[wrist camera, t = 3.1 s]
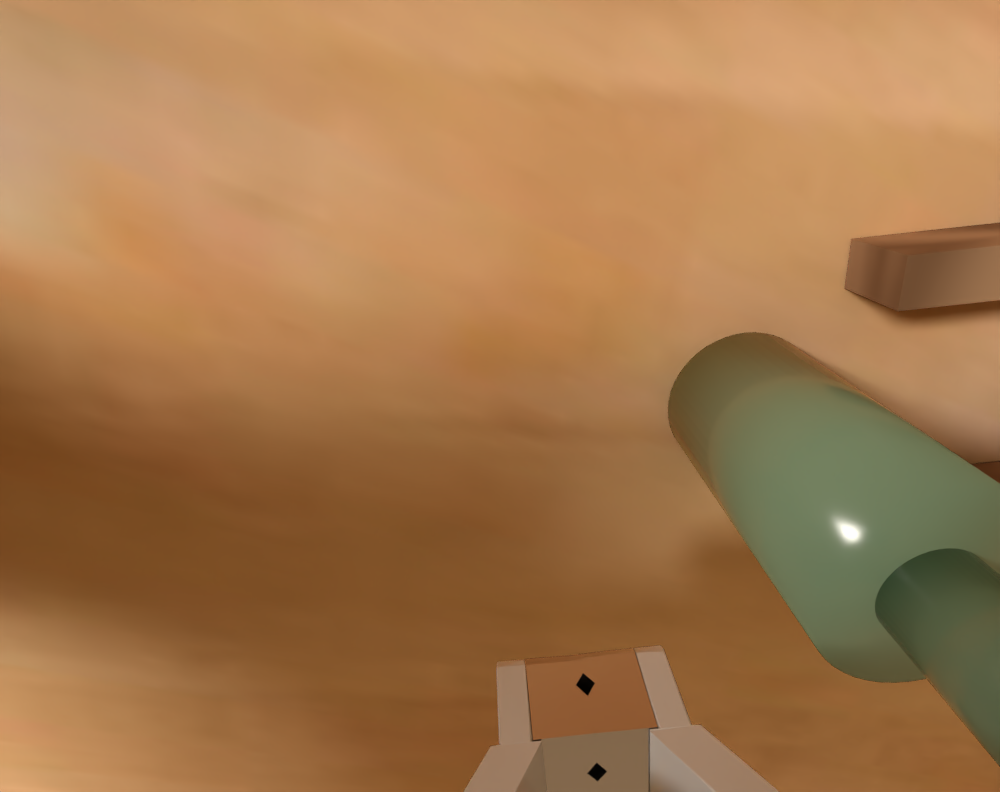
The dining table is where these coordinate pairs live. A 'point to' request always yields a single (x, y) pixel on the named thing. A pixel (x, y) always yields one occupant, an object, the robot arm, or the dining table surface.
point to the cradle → (929, 273)
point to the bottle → (852, 519)
